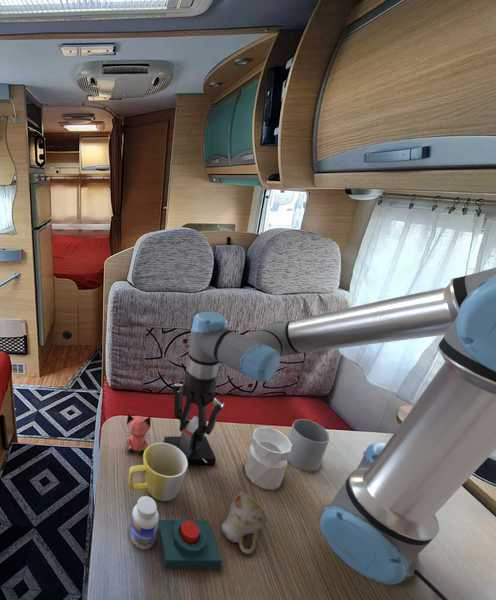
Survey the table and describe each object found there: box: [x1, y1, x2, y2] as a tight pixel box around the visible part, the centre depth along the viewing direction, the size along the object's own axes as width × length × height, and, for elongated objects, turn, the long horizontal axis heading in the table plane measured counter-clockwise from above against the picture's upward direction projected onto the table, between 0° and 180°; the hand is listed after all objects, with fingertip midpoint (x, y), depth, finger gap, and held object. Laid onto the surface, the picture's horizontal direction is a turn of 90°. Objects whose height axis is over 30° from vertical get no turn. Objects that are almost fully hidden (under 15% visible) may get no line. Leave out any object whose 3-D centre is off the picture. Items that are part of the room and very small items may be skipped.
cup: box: [287, 418, 331, 473], centre depth 89 cm, size 8×8×10 cm
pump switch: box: [157, 517, 222, 568], centre depth 68 cm, size 11×8×4 cm
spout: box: [179, 415, 198, 458], centre depth 89 cm, size 8×3×8 cm, turn 140°
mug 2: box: [221, 492, 268, 555], centre depth 71 cm, size 8×10×10 cm
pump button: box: [180, 520, 199, 544], centre depth 67 cm, size 4×4×2 cm
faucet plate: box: [163, 435, 217, 467], centre depth 91 cm, size 12×11×3 cm
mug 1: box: [127, 442, 189, 502], centre depth 79 cm, size 14×10×10 cm
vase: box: [244, 426, 292, 491], centre depth 83 cm, size 9×9×12 cm
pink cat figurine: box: [126, 413, 151, 456], centre depth 90 cm, size 7×7×12 cm
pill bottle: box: [130, 495, 160, 550], centre depth 69 cm, size 5×5×10 cm
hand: (189, 444), depth 90 cm, fingers closed on spout, 3 cm apart
